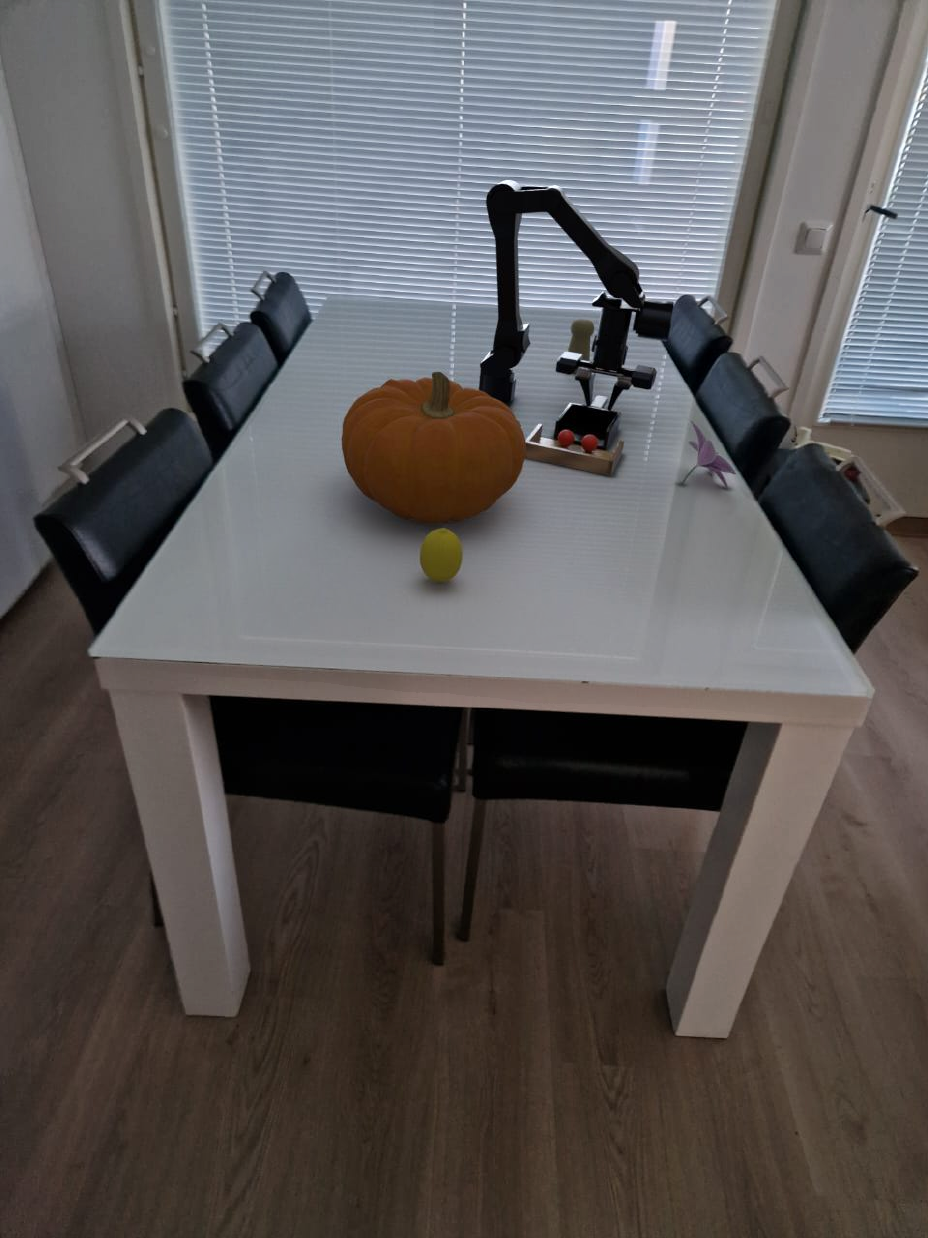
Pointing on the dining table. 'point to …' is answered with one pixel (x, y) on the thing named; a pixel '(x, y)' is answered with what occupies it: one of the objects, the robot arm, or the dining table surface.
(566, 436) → the tomato
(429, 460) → the pumpkin
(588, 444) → the tomato
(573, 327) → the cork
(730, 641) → the dining table surface
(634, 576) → the dining table surface
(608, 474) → the tray
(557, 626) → the dining table surface
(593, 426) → the pan
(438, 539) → the lemon
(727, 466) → the lily
